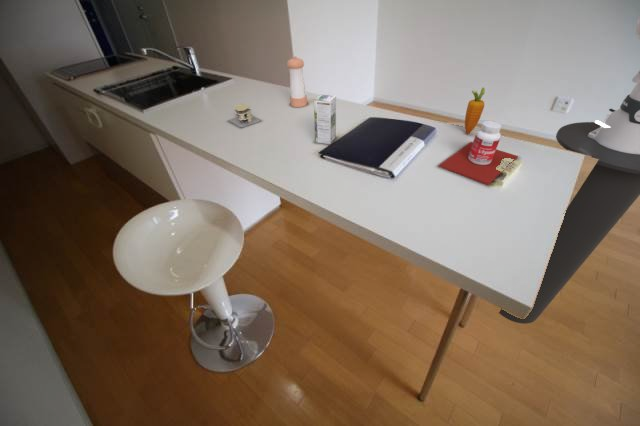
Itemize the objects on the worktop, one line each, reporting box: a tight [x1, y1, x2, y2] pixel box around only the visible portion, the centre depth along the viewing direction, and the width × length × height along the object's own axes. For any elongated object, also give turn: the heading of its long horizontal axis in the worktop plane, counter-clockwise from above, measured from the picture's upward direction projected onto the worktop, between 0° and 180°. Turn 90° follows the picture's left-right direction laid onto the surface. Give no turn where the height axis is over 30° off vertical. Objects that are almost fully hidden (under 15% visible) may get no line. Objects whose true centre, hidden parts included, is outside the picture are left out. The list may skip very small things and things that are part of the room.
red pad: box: [438, 141, 519, 186], centre depth 84 cm, size 20×14×1 cm
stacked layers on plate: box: [229, 103, 261, 129], centre depth 114 cm, size 10×9×6 cm
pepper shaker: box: [286, 55, 308, 108], centre depth 123 cm, size 7×7×19 cm
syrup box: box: [313, 94, 337, 145], centre depth 95 cm, size 6×6×14 cm
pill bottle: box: [468, 120, 503, 165], centre depth 80 cm, size 6×6×11 cm
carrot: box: [464, 87, 486, 135], centre depth 94 cm, size 5×5×15 cm
